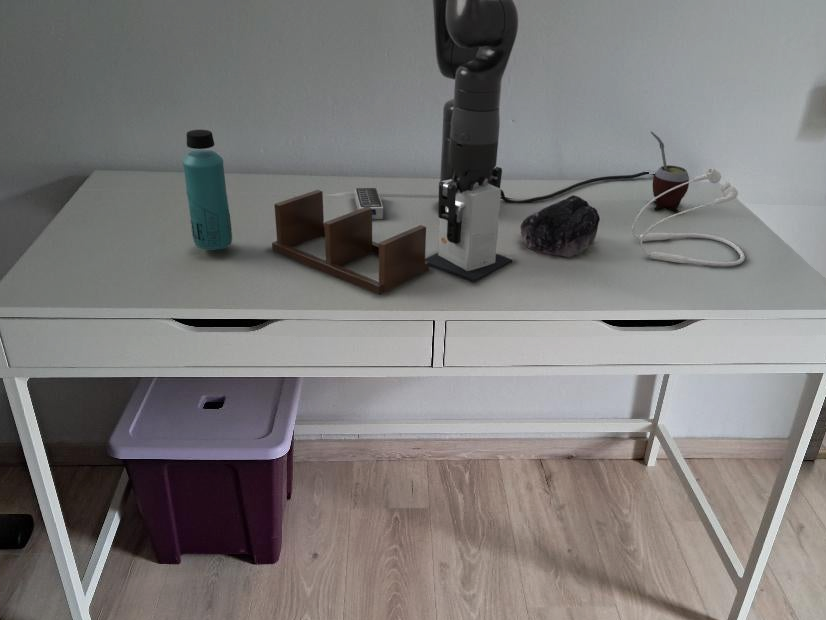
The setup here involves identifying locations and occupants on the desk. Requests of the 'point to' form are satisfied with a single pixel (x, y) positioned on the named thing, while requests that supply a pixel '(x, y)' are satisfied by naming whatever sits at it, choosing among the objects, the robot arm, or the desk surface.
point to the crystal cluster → (561, 227)
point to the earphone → (729, 195)
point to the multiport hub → (369, 201)
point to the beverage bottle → (206, 193)
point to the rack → (348, 243)
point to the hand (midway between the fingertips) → (467, 235)
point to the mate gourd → (669, 184)
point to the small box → (473, 229)
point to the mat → (471, 275)
